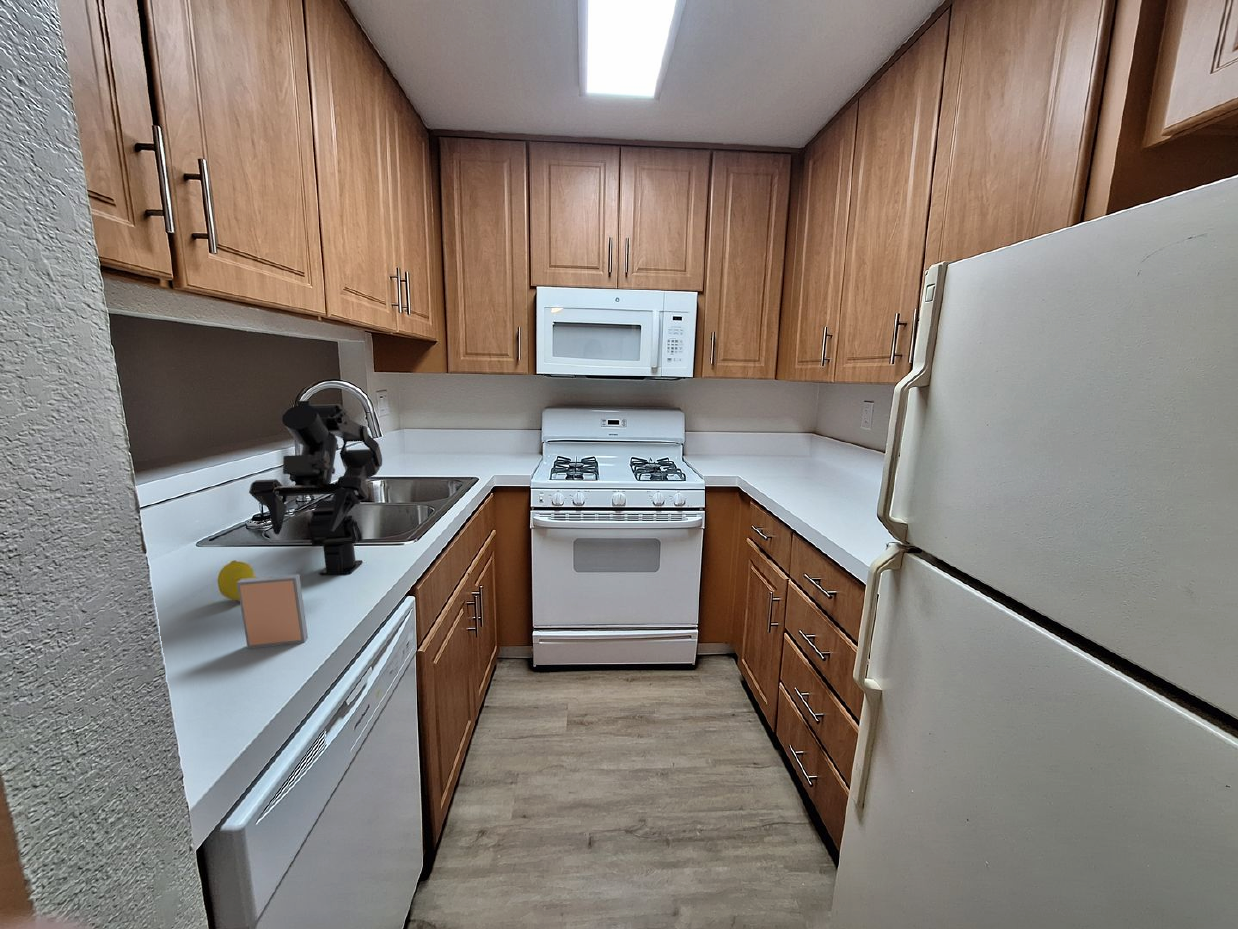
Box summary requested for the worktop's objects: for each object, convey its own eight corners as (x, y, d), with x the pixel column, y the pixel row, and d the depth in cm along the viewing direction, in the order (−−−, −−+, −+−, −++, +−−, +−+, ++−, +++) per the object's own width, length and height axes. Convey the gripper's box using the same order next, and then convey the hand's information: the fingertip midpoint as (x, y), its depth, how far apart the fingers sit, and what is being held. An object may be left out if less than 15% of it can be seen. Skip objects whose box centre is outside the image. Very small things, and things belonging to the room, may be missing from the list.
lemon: (253, 591, 97) (247, 553, 95) (262, 599, 94) (256, 559, 92) (217, 602, 93) (210, 561, 91) (226, 610, 89) (218, 569, 88)
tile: (252, 644, 78) (241, 578, 76) (308, 638, 80) (299, 574, 78) (247, 649, 77) (236, 583, 75) (304, 643, 79) (295, 578, 77)
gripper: (244, 437, 89) (222, 517, 81) (356, 434, 93) (346, 510, 85) (271, 468, 99) (254, 542, 91) (373, 464, 102) (364, 534, 95)
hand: (304, 532), depth 90 cm, fingers open, 9 cm apart
